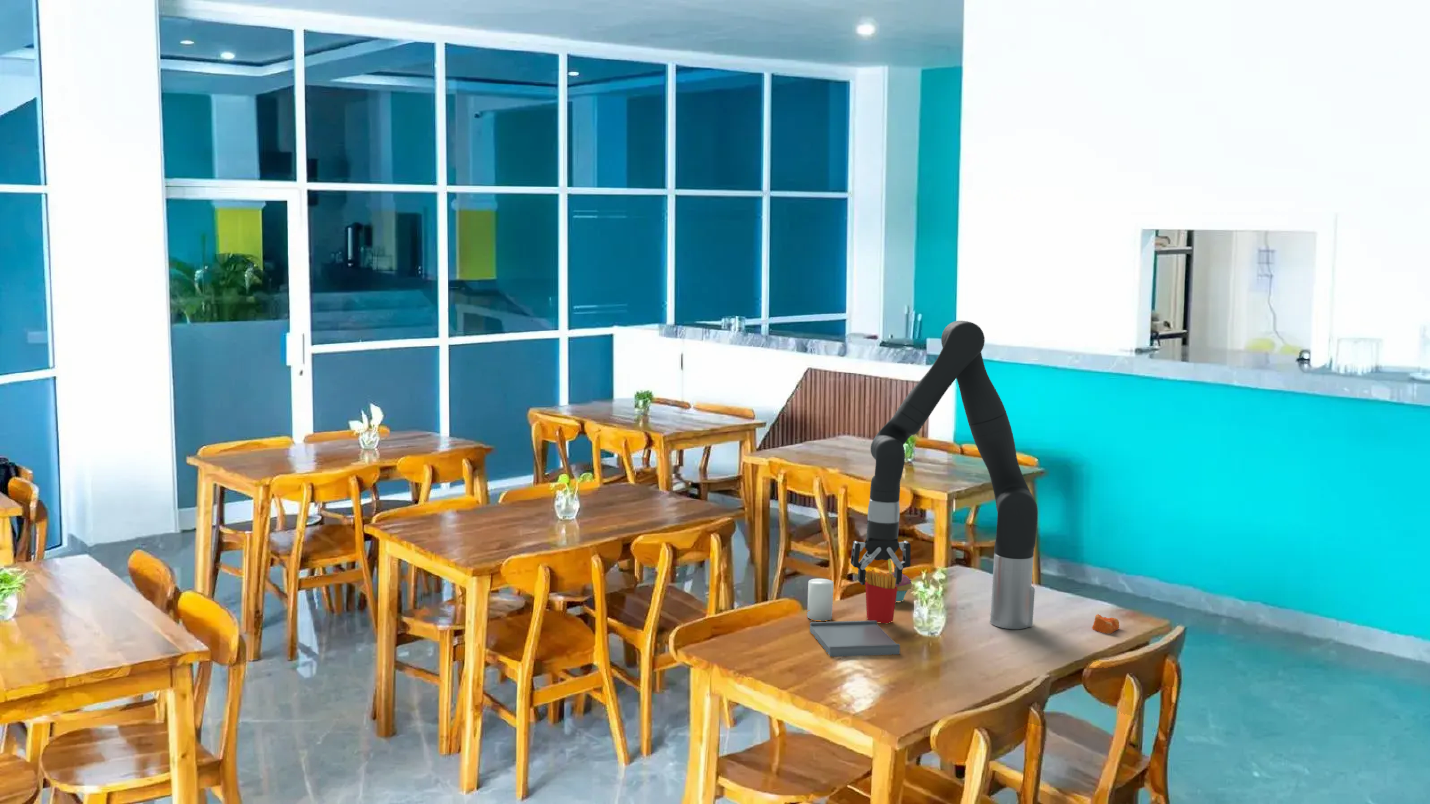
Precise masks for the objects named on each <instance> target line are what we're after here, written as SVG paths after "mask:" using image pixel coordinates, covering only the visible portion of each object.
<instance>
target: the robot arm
mask: <svg viewBox="0 0 1430 804" xmlns="http://www.w3.org/2000/svg"><path fill="white" fill-rule="evenodd" d="M940 338H941V339H940V341H941V346H942V348H941V351H940V353H939V355H938V356H937V358H936V360H935V361H934V363H933V364H932V366H931V367H930V368H929V369H928V371H927V372H926V373H925V374H924V376H923V377H922V378H921V379H920V380H919V381H918V382H917V383H916V384H915V386H913V388H912V389H911V390H910V391H909V393H908V394H907V395H906V397H904V399H903V401H902V403H901V404H900V405H899V407H898V408H897V410H896V412H895V413H894V415H893V416H892V417H891V418H890V419H889V420H888V421H887V423H885V424H884V425H883V426H882V427H881V429H880V430H879V431H878V432H877V433H876V435H875V437H874V438H873V440H872V442H871V445H870V453H871V456H872V458H873V459H874V460H875V469H874V475H873V477H871V480H870V481H871V482H870V490H869V493H870V494H869V501H868V509H867V519H866V520H867V524H866V538H865V541H864V542H863V541H857V540H854V541H853V542H852V548H851V557H850V565H852V567H854V568H856V569H857V581H858V582H859V583H860V585H861V586H864V585H865V582H866V571H867V570H866V568H868V565H869V564H872V562H873V561H874V560H875V561H882V560H883V561H888V559H890V561H892V563H893V564H894V565H895V567H894V569H893V570H894V571H893V573H894V577H895V578H896V583H895V584H899V582H901V580H902V574H903V569H905V568H910V567H911V565H912V564H911V563H912V561H911V555H912V554H911V551H912V549H911V547H912V546H911V543H910V542H909V541H907V540H903V541H901V542H900V541H899V539H898V538H899V530H900V529H899V528H900V517H901V514H900V509H901V508H900V498H901V497H900V494H901V480H902V476H903V471H904V468H905V461H906V450H905V446H904V445H906V443H907V441H908V440H909V438H910V437H912V436H914V435H916V434H918V433H919V431H921V429H922V427H923V426H924V425H925V423H926V422H927V420H928V419H929V417H930V416H931V414H932V413H933V412H934V410H935V408H936V407H937V405H938V404H939V402H940V401H941V399H942V398H943V396H945V394H946V392H947V390H948V389H949V388H950V386H951V385H952V384H953V383H954V381H957V385H958V389H959V392H960V393H959V394H960V397H961V398H960V399H961V401H962V405H963V408H964V413H965V416H966V420H967V423H968V426H969V430H970V433H971V435H972V438H973V441H974V443H975V446H976V448H977V450H978V452H979V455H980V456H981V459H982V461H983V463H984V465H985V467H986V468H987V472H988V474H989V478H990V481H991V485H992V490H993V495H994V501H995V506H996V507H995V508H996V512H997V515H996V517H997V518H996V519H997V520H996V533H995V534H996V536H995V541H994V551H993V552H994V553H993V569H992V583H991V585H992V586H991V601H990V602H991V604H990V615H989V616H990V618H989V619H990V620H989V622H990V624H991V625H993V626H995V627H998V628H1000V629H1001V628H1003V629H1006V630H1007V629H1008V630H1009V629H1010V630H1019V629H1022V630H1023V629H1026V628H1030V627H1031V628H1032V627H1033V623H1034V607H1035V606H1034V605H1035V595H1036V594H1035V593H1036V591H1035V590H1036V589H1035V587H1034V586H1032V585H1033V584H1032V583H1033V572H1034V571H1033V569H1034V568H1033V567H1034V553H1035V547H1036V540H1037V539H1036V538H1037V526H1038V515H1039V514H1038V505H1037V502H1036V500H1035V498H1034V496H1033V494H1032V492H1031V490H1030V488H1029V487H1028V484H1027V481H1026V480H1025V478H1024V475H1023V473H1022V470H1021V468H1020V463H1019V461H1018V457H1017V450H1016V449H1017V448H1016V444H1015V443H1016V442H1015V438H1014V434H1013V428H1012V426H1011V423H1010V420H1009V417H1008V413H1007V410H1006V408H1005V405H1004V402H1003V400H1002V399H1001V396H1000V395H999V393H998V391H997V389H996V387H995V386H994V384H993V382H992V380H991V378H990V376H989V375H988V371H987V370H986V367H985V363H984V362H985V361H984V358H983V354H982V350H983V349H984V347H985V343H986V338H985V334H984V332H983V330H982V328H981V327H980V325H977V324H976V323H974V322H972V321H968V320H966V321H965V320H956V321H952V322H950V323H949V324H947V326H945V328H944V330H943V331H942V334H941V337H940ZM864 548H865V550H866V551H865V553H864V554H863V556H862V558H861V560H860V552H862V551H863V549H864ZM899 549H900V550H901V551H902V561H900V559H899V558H898V556H897V554H896V553H897V551H898V550H899ZM865 586H866V585H865Z"/></svg>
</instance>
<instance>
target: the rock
mask: <svg viewBox="0 0 1430 804" xmlns="http://www.w3.org/2000/svg"><path fill="white" fill-rule="evenodd" d="M1093 621H1094V622H1093V625H1092V627H1091V629H1092V630H1093V631H1095V632H1099V633H1103V634H1110V635H1111V634H1112V633H1114V632H1116V631H1118V630H1119V629H1120V621H1119V619H1118V618H1115V617H1105V616H1102V615H1101V614H1098V613H1097V614H1095V616H1094V620H1093Z"/></svg>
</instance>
